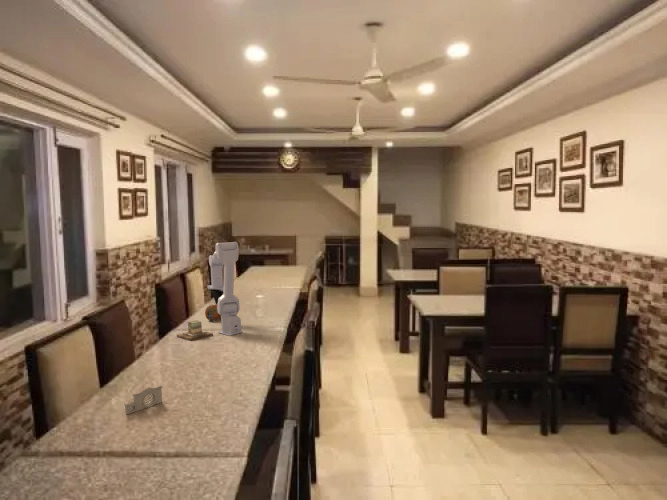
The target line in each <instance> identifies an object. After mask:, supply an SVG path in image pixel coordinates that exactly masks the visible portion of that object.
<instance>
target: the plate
mask: <svg viewBox="0 0 667 500" xmlns="http://www.w3.org/2000/svg"><path fill="white" fill-rule="evenodd" d="M213 336H214V333H212V332H209V331H206V330H205V331H204V330H202V333H198V334H194V335H192V334H188V331H185V332H182V333H178V334H176V338H179V339H183V340H187V341H190V342H193V341H197V340H201V339H205V338H209V337H213Z"/></svg>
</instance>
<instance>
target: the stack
mask: <svg viewBox="0 0 667 500" xmlns="http://www.w3.org/2000/svg"><path fill="white" fill-rule="evenodd" d="M187 330H188V331H187V332H188V334H192V335H194V334H198V333H202V331H203V327H202V321H201V320H198V319H195V320H191V321H187Z"/></svg>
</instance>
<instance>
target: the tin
mask: <svg viewBox="0 0 667 500" xmlns="http://www.w3.org/2000/svg"><path fill="white" fill-rule="evenodd" d="M204 315H205V318H206V319H207V320H208V321H212V322H214V321H213V320H215V321H218V320H217V319H219V320H221V315H219V314H218V311H217V304H216V303H214V304H211V305H208V306H207V307H206V309H205V311H204Z"/></svg>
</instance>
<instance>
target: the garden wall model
mask: <svg viewBox="0 0 667 500" xmlns="http://www.w3.org/2000/svg"><path fill="white" fill-rule="evenodd" d="M162 389H163V385H158V386H157V387H146V388H144V389H143V390H141V391H140V392H138V393H134V394H132V397H133V401H131V402H129V403H124V405H123V406H124V407H125V414H126V415H130V414H133V413H135V412H138V411H142V410H144V409H146V408H151V407H153V406H155V405H158V404H160V403H163V395H162V394H163V393H162Z"/></svg>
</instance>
